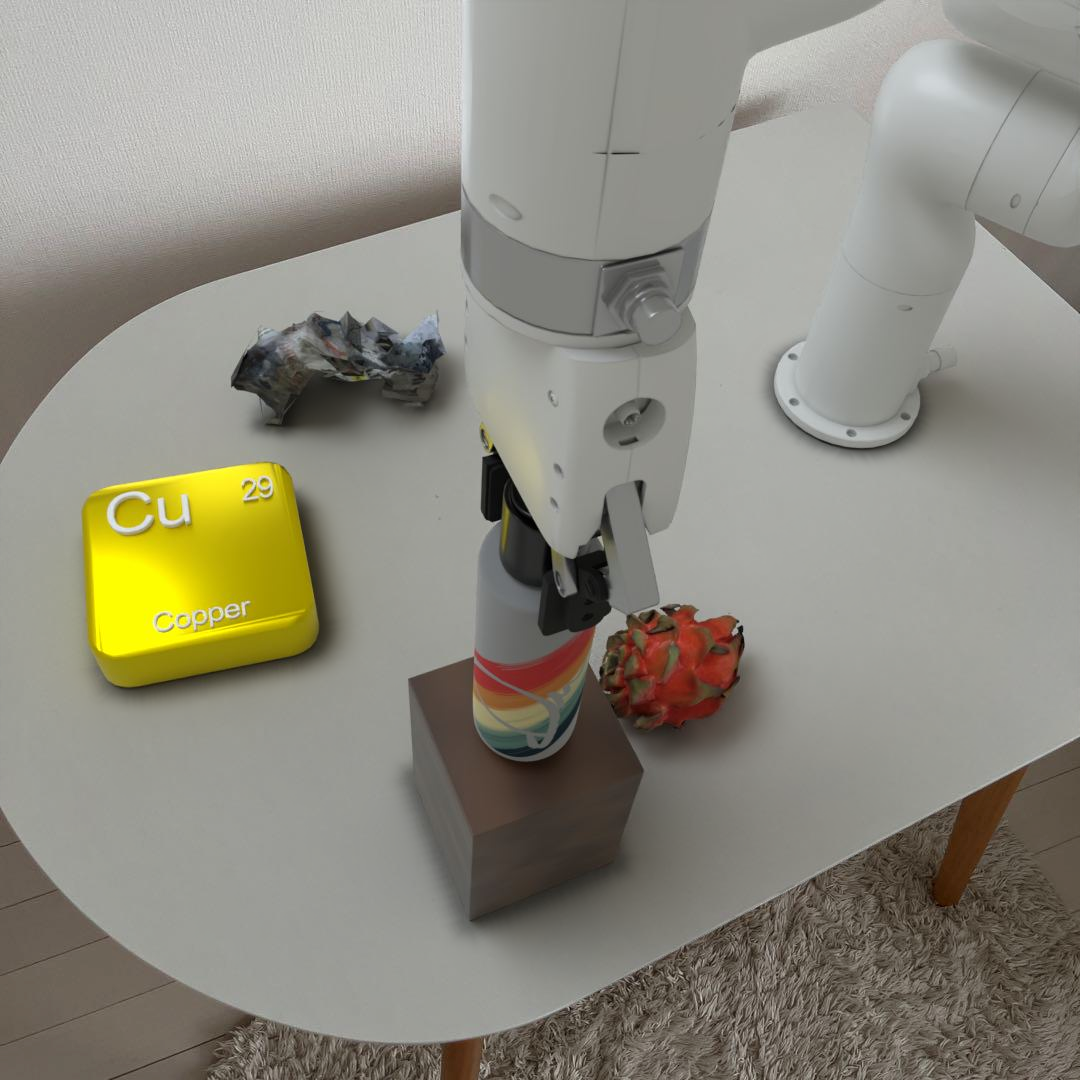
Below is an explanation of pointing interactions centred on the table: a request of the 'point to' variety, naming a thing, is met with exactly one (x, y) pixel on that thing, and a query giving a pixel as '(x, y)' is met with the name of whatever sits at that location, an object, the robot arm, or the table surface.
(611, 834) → the block
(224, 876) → the table surface
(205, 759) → the table surface
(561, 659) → the lotion bottle
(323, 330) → the foil
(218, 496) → the element tile
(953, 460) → the table surface
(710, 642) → the dragon fruit
